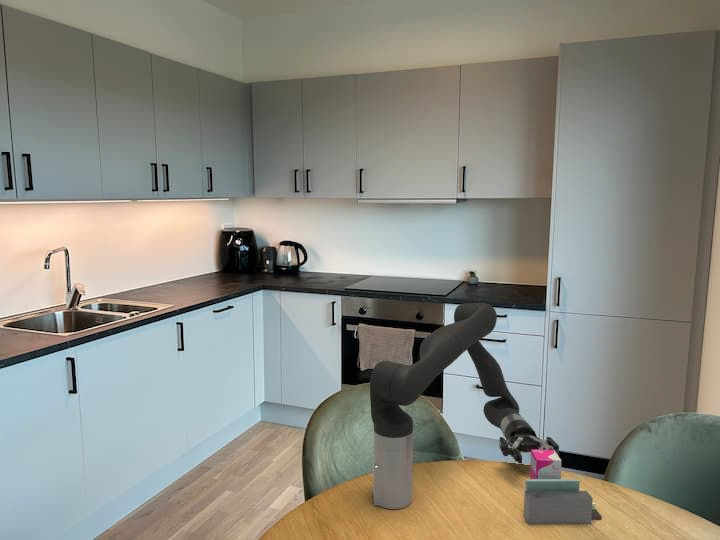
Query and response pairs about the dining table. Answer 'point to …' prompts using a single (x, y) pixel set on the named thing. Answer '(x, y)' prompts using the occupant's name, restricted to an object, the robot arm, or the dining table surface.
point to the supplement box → (545, 465)
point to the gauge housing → (559, 507)
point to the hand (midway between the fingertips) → (538, 460)
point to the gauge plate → (553, 485)
